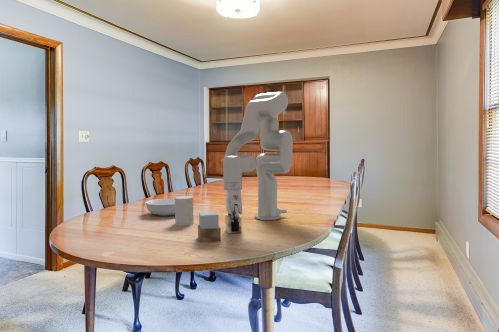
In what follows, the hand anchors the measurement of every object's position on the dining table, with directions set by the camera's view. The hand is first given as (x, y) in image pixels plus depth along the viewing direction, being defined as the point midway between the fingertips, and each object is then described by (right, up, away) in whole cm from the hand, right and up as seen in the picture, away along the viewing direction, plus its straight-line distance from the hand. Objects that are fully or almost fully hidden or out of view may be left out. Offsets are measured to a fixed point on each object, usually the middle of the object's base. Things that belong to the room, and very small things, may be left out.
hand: (233, 229), depth 133 cm
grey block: (-9, +3, -11) cm, 15 cm away
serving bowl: (-36, +1, +35) cm, 51 cm away
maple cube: (0, -1, 0) cm, 1 cm away
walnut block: (-9, -2, -11) cm, 14 cm away
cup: (-23, 0, +14) cm, 27 cm away
